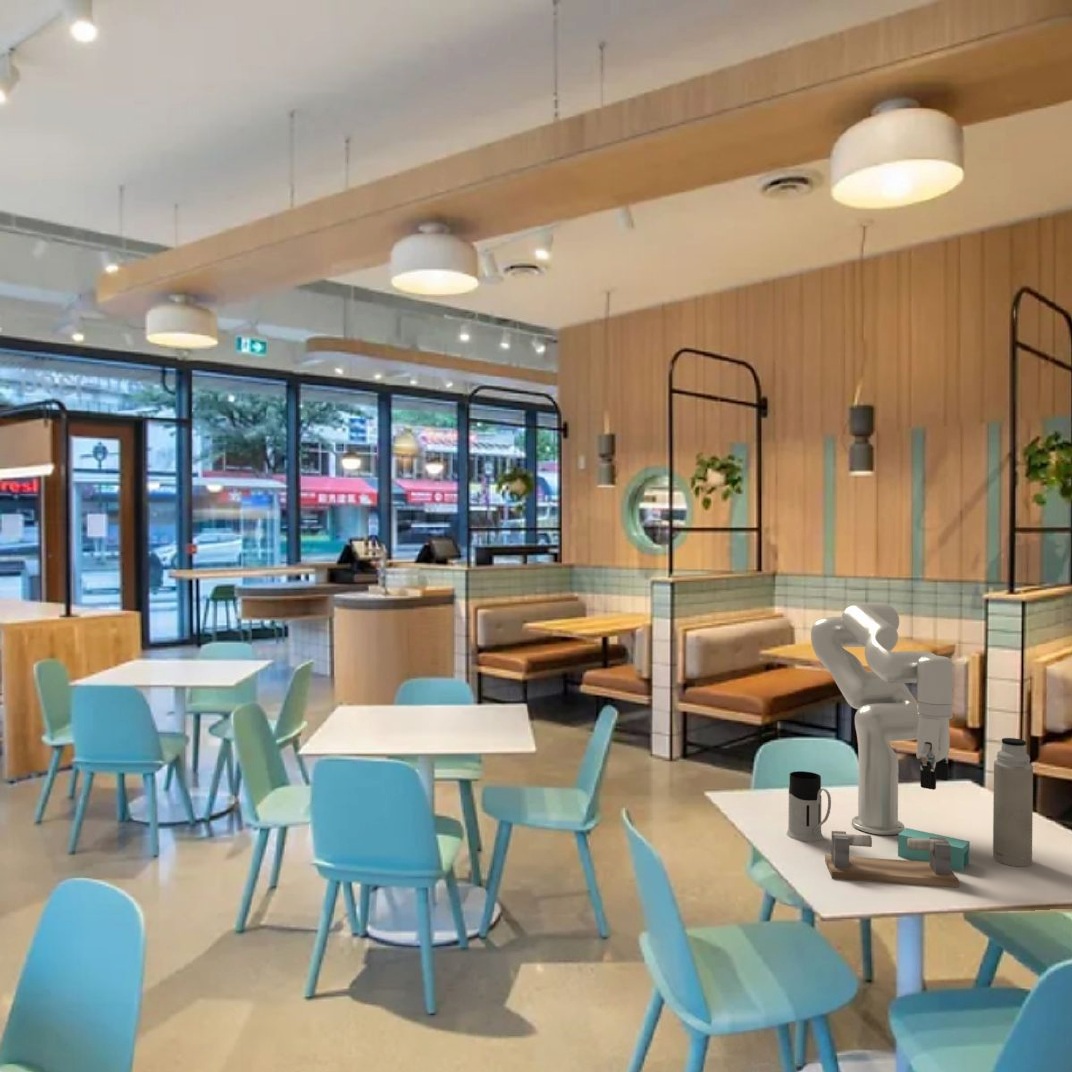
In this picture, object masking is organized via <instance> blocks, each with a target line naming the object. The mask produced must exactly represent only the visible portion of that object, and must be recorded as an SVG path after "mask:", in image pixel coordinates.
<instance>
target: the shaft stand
mask: <svg viewBox="0 0 1072 1072" xmlns="http://www.w3.org/2000/svg"><path fill="white" fill-rule="evenodd" d="M830 839H831V846H830V847H831V848H830V850H831V851H830V853H831V855H829V854H828V855H827V854H824V862H825V865H826V868H827V869H828V872H829V875H830V877H831V879H838V880H846V881H847V880H850V881H863V882H864V881H866V882H877V883H878V882H879V883H890V884H891V883H893V884H906V885H907V884H908V885H909V884H910V885H923V886H935V887H950V888H951V887H952V888H960V881H959V879H958V877H957V876H956V875H955V873H954V872H953V870H952V869H951V845H950V844H949V843H948V841H947V840H946V839H945V838H943V837H930V839H918V838H908V849H911V850H927V851H930V862H924V861H917V860H907V859H893V858H892V859H891V858H889V859H888V858H878V857H877V858H876V857H860V856H850V846H851V847H863V848H864V847H867V848H871V847H872V846H873V840H872V836H871V835H869V834H868V835H865V834H851V833H849V834H848V833H847V832H846V831H841V830H838V831H837V830H831V837H830Z"/></svg>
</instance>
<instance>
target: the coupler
mask: <svg viewBox="0 0 1072 1072" xmlns="http://www.w3.org/2000/svg"><path fill="white" fill-rule="evenodd" d="M930 837H943V838H945V839H946V840H947V841H948V843H949V844H950V845H951V870H952V869H953V870H956V871H961V872H963V871H964V866H965V865H967V866H968V865H969V864H970V854H971V853H970V851H971V850H970V847H971V844H970V840H964V839H961V838H955V837H951V836H947V835H941V834H938V833H937V834H936V833H932V832H929V831H928V832H927V831H923V830H918V829H914V828H909V827H906V828H904V830H903V831H902V832H901V833H899V834H897V856H898V857H900V858H905V859H909V860H912V861H924V862H930V851H927V850H911V849H908V838H918V839H930Z"/></svg>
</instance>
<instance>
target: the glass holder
mask: <svg viewBox="0 0 1072 1072" xmlns="http://www.w3.org/2000/svg"><path fill="white" fill-rule="evenodd" d="M821 786H822V777H821V774H818V773H815V772H811V771H802V770H799V771H791V772H790V773H789V786H788V829H787V831H786V836H787V837H789V838H790V839H793V840H797V841H800V842H801V841H802V842H818V841H821V840H823V839H824V835H823V833H822V825H824V824H825V823H826V822H827V820H828V818H829V817H830V814H831V809H832V808H831V807H832V797H831V793H830V792H829V791H828V790H827V788H823V787H821ZM822 791H824V792H825V794H826V796H827V809H826V814H825V817H824V819H823V820H822Z"/></svg>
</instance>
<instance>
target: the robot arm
mask: <svg viewBox="0 0 1072 1072" xmlns="http://www.w3.org/2000/svg"><path fill="white" fill-rule="evenodd" d="M899 626H900V617H899V614H898V612H897V610H896V609H895V608H894V607H893V606H891V605H889V604H887V603H856V604H851V605H849V606H848V607H846V608H845V609H844V610H843V611H842V614H841V616H830V617H823V618H820V619H818V620H816V621H815V622H814V624H813V625H812V627H811V629H810V640H811V645H812V650H814V653H815V655H816V657H817V659H818V660H819V662H820V663H821V664H822V666H823V667H825V668H826V670H827V672H829V674H830V675H831V677H832V678H833V680H834V682H835V684H836V685H837V687H838V689H839V691H840V692H841V694H842V696H843V697H844V699H845V701H846V702H847V704H848V705H849V706H850V707H851V708H853V709H855V710H856V712H855V715H854V728H855V732H856V737H857V738H856V739H857V749H858V750H857V751H858V752H857V753H858V775H857V776H858V778H857V780H858V782H857V783H858V786H857V787H858V791H857V793H858V795H857V799H858V802H857V805H858V807H857V815H856V816H853V817H852V819H851V825H852V826H853V827H854V828H855V829H857V830H859V831H861V832H865V833H869V834H873V835H880V836H881V835H882V836H894V835H898V834H899V833H901V832H902V831H903V830H904V829H905V825H904V823H902V822H901V821H900V820H899V759H898V756H897V754H896V752H895V751H894V749H893V747H892V746H891V742H900V741H901V742H902V741H914V740H917V741H916V758H917V759H918V760H920V762H919V763H920V788H923V789H928V790H933V791H934V790H936V789H937V780H940V781H948V780H949V758H948V756H949V754H950V746H951V742H950V741H951V739H950V738H951V737H950V735H951V734H950V719H953V718H954V717H953V716H954V715H953V714H954V713H953V712H954V706H953V705H954V702H953V700H954V699H953V698H954V693H953V692H954V680H953V679H954V664H953V661H952V659H951V658H949V657H947V656H942V655H936V654H935V653H933V652H930V651H926V650H925V651H924V650H917V651H916V650H915V651H914V650H913V651H912V650H907V651H906V650H903V651H901V650H900V651H892V650H893V649H894V648H895V647H896V645H897V643H898V640H899V633H898V629H899ZM845 648H864V656H865V657H864V659H865V661H866V664H867V667H868V668H869V669H870V671H871V672H870V671H867V670H866V668H865V667H864V665H863V664H862V663H863V662H861V661H860V659H859V658H858V657H856V655H854V654H853V653H851V652H850V651H849V650H847V649H845ZM906 684H917V686H916V691H917V692H916V694H917V695H916V699H915V697H914V696H913V694H912V692H911V691H910V689H909V688H908V687H907V685H906Z"/></svg>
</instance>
